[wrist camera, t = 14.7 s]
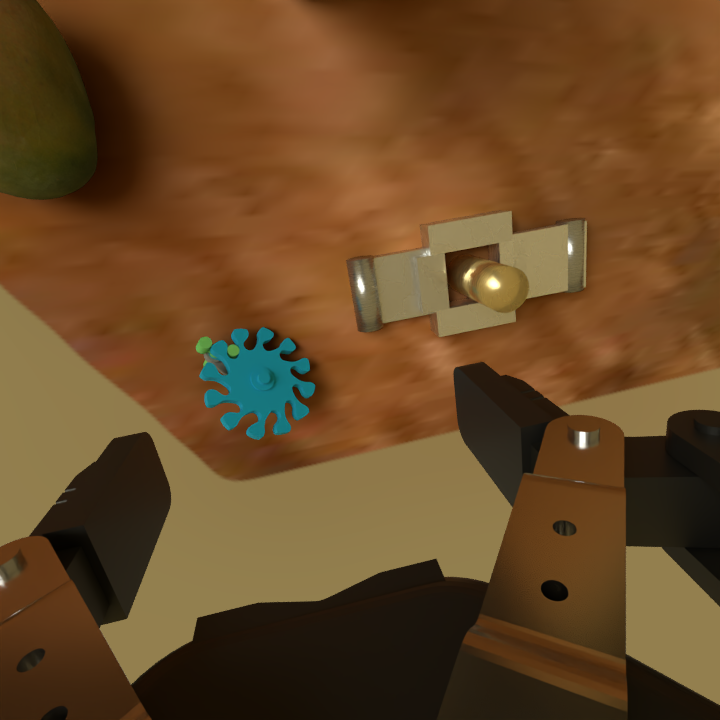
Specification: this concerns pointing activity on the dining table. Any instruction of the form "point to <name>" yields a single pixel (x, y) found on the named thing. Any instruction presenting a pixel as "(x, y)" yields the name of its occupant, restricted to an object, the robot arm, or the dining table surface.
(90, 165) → the fruit
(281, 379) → the gear
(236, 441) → the dining table surface
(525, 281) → the pin
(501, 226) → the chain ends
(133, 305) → the dining table surface
